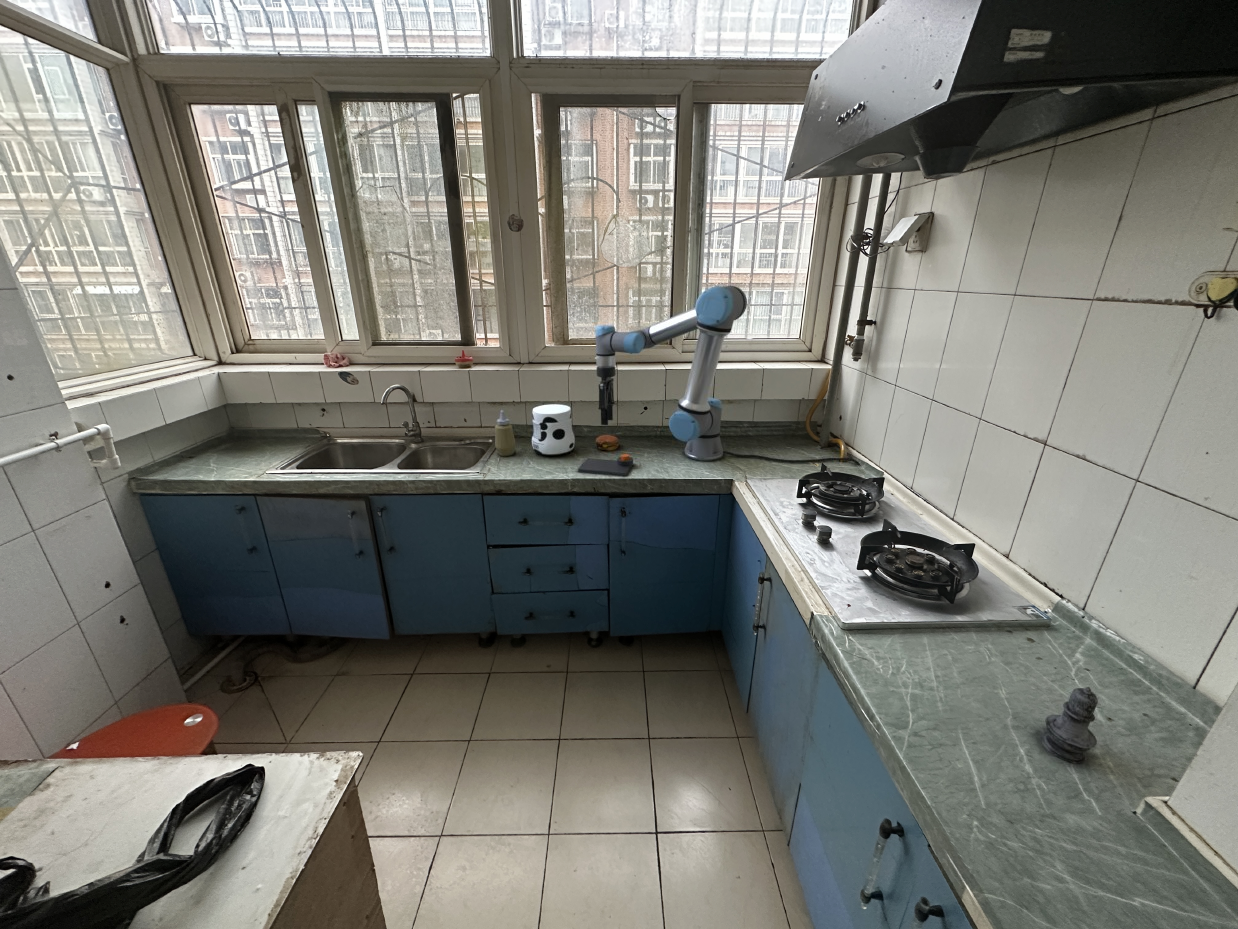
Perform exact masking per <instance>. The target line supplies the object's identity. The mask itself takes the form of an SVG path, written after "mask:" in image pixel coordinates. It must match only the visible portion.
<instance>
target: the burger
mask: <svg viewBox="0 0 1238 929" xmlns="http://www.w3.org/2000/svg"><path fill="white" fill-rule="evenodd" d="M595 444H596V447H597V448H598V450H602V451H604V450H605V451H615V450H617V449H618V448H619V445H620V441H619V439H618V437H616V436H614V435H610V434H602V435H600V436H598V437H596V439H595Z"/></svg>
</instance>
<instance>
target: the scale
mask: <svg viewBox="0 0 1238 929" xmlns="http://www.w3.org/2000/svg"><path fill="white" fill-rule="evenodd" d="M633 466H634V458H633V457H632V456H629V460H627V461H623V460H621V456H619V457H617V459H604V458H592V457H587V459H586V460H585V461H584V462H583V463H582V464H581V466H579V467H578V469H577V472H578V473H585V474H595V475H607V476H619V477H626V476H627V475H628V473H629V472H630V470H631V469H632V467H633Z"/></svg>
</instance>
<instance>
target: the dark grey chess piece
mask: <svg viewBox="0 0 1238 929" xmlns="http://www.w3.org/2000/svg"><path fill="white" fill-rule="evenodd" d="M1098 703H1099V699H1098V697H1097V695H1096V694H1095V693H1093V692H1092V688H1091V687H1090V686H1085V687H1075V688H1074V689H1072V691H1071V694H1070V695H1069V698H1068V700H1067V701H1065V702H1063V703H1062V707H1063V711H1062V714H1050V715H1047V716H1046V717H1045V720H1044V722H1045V727H1046V732H1045V733H1043V734H1042V735H1041V738H1040V740H1041V743H1042V745H1043V746H1044V748H1045V749H1046V751H1048V752H1050V753H1051V754H1052V755H1053V756H1055V757H1057V758H1058V759H1059V760H1062V761H1064V762H1067V763H1070V764H1076V765H1078V764H1079V765H1080V764H1084V763H1085V762H1086V761H1087V754H1086V752H1088V751H1090V750H1091V749H1092V748H1095V747H1096V746H1097V744H1098V740H1097V738H1096V735H1095V734H1094V733H1093V732H1092V730H1090V729H1089V726H1090V724H1091V723H1093V722H1095V720H1096V716H1095V714H1094V713H1095V710H1096V708H1097V706H1098Z"/></svg>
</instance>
